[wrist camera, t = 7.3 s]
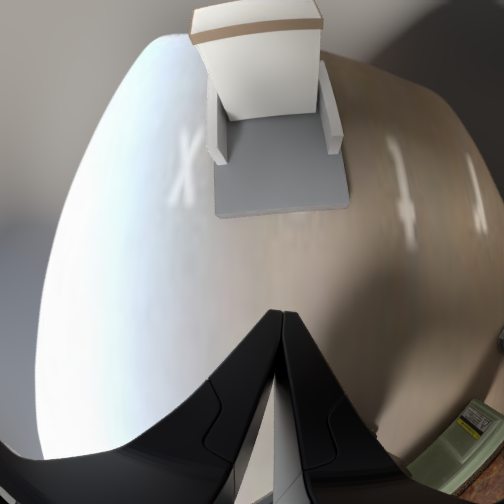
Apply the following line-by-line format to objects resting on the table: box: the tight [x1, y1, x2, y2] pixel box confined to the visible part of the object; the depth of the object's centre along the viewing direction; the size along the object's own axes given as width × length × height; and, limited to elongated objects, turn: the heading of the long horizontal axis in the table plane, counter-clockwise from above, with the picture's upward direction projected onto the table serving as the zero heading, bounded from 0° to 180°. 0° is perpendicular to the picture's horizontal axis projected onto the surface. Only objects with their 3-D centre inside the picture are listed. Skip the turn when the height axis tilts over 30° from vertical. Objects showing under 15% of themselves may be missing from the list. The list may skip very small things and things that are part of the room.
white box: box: [189, 0, 323, 121], centre depth 16 cm, size 3×7×10 cm, turn 94°
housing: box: [206, 61, 350, 219], centre depth 20 cm, size 14×10×4 cm
